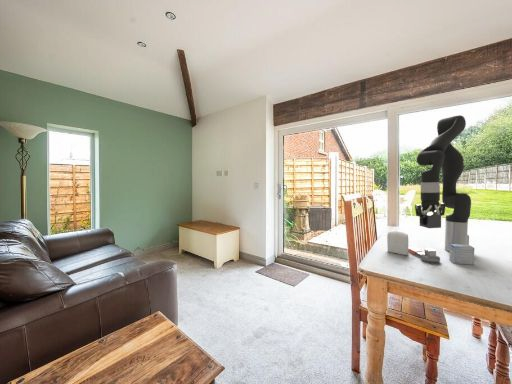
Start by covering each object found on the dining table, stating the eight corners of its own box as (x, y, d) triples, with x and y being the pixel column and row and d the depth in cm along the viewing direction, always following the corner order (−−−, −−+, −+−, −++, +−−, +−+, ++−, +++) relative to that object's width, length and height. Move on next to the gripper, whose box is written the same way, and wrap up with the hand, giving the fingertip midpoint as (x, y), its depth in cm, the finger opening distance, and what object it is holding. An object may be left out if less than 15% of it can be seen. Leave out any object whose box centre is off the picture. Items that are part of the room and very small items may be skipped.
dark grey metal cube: (431, 225, 112) (431, 212, 111) (441, 227, 106) (441, 214, 105) (419, 225, 112) (419, 213, 111) (428, 228, 106) (428, 215, 105)
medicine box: (468, 261, 108) (469, 244, 107) (474, 265, 103) (474, 247, 103) (449, 260, 110) (449, 243, 110) (453, 263, 106) (454, 246, 105)
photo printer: (386, 251, 125) (386, 230, 124) (388, 249, 128) (389, 229, 127) (406, 256, 117) (407, 233, 116) (409, 254, 120) (409, 232, 119)
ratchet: (416, 251, 124) (416, 241, 124) (444, 263, 106) (444, 251, 106) (403, 251, 124) (403, 241, 124) (428, 264, 106) (428, 252, 106)
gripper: (438, 190, 111) (437, 222, 112) (410, 191, 111) (410, 223, 112) (451, 191, 104) (450, 225, 105) (421, 192, 104) (421, 226, 105)
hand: (430, 224), depth 109 cm, fingers closed on dark grey metal cube, 6 cm apart
